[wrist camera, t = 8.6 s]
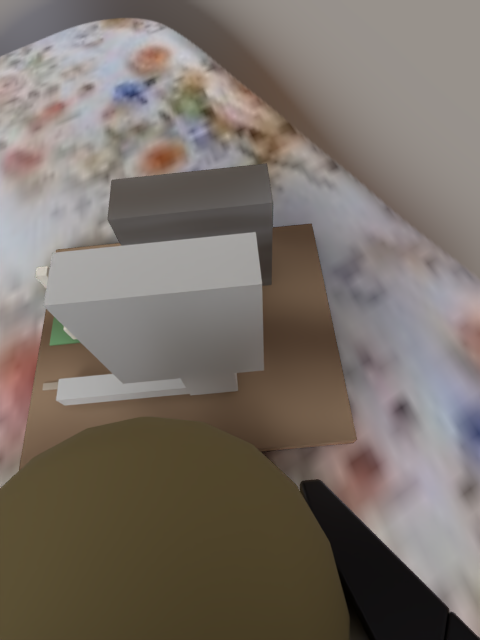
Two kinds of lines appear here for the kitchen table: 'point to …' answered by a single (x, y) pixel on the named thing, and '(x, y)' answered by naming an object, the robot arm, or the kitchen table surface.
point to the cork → (163, 542)
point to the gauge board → (278, 323)
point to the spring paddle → (161, 316)
